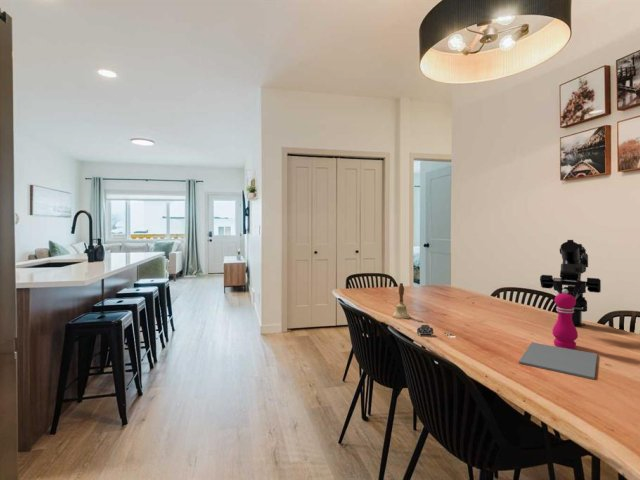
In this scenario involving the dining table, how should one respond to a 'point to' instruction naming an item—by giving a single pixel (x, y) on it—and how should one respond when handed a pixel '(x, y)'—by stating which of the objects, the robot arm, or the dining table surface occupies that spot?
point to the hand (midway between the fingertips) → (567, 301)
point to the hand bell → (401, 305)
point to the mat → (560, 360)
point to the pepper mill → (565, 321)
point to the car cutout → (428, 331)
